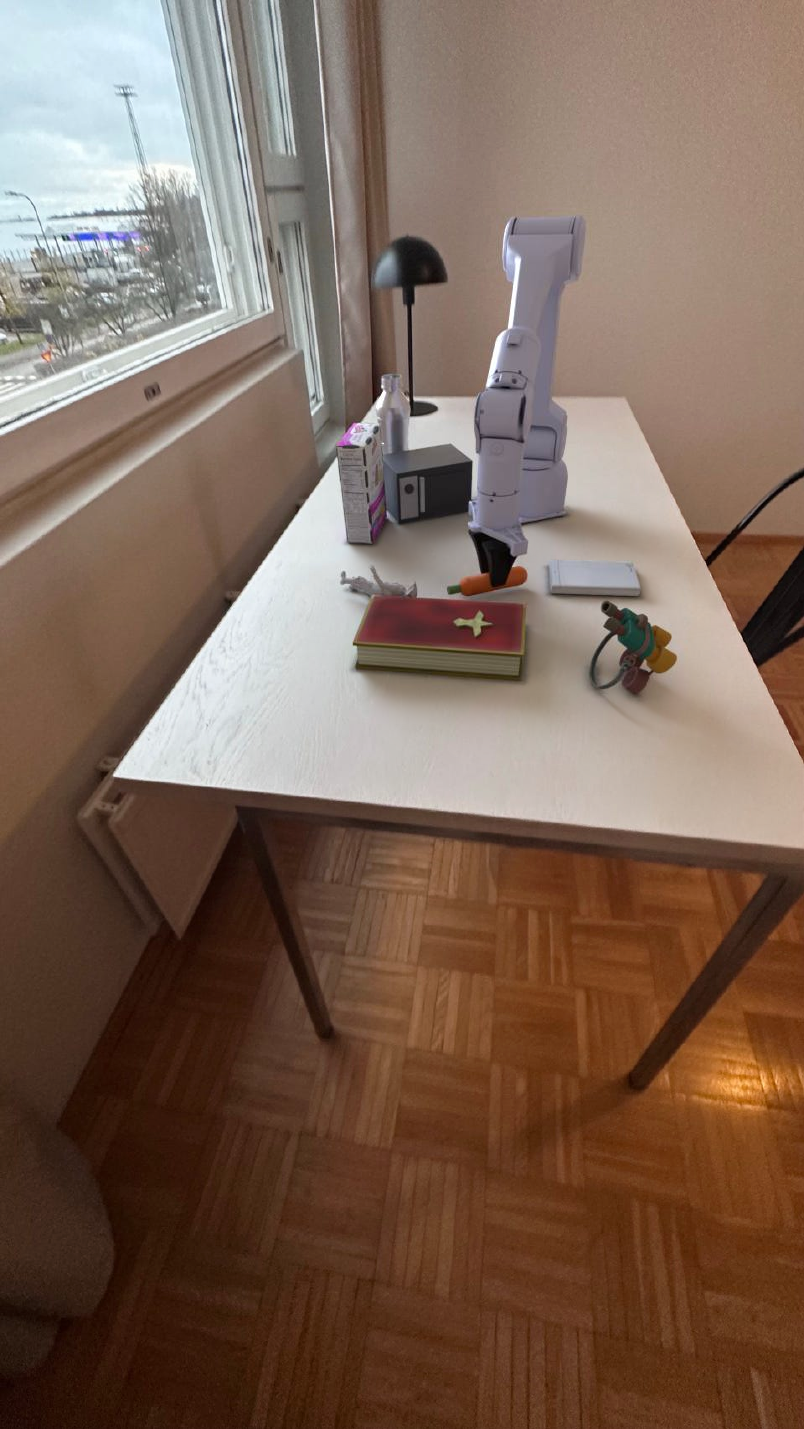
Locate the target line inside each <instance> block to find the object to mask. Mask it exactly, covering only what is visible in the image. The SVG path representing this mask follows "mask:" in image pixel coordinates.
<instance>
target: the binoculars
mask: <svg viewBox="0 0 804 1429" xmlns="http://www.w3.org/2000/svg"><path fill="white" fill-rule="evenodd" d="M600 611H601V613H602V614H604V615H605V616H606V617H608V618H607V619H606V621H605V622H604V623H603V625H602V628H604V629H606V630H607V631H608V633H607V634H606V636H604V638H603V639H602V640H601V641H600V643H599V645H598V646H597V648H596V649H595V651H594V654H593V655H592V657H591V661H590V665H589V679H590V682H591V684H592V685H593V686H594V687H596V688H597V689H599V690H607V689H609V688H612V687H614V686H616V685H617V684H618V683H619V682H620V681H621V686H622V688H624V689H626V690H627V691H628V692H630V693H631V694H632V695H638V694H640V693H641V692H642V691H643V690H644V689H645V688H646V686H647V685H648V683H649V681H650V676H652V675H653V674H654V673H655V674H658V675H659V674H664V673H666V672H668V671H669V670H670V669H672V668H673V667H674V666H675V664H676V663H677V660H678V656H677V654H676V653H675V652H673V651H671V650H670V649H668V648H666V647H667V646H668V645H669V644H670V643H671V641H672V638H673V636H672V634H671V633H670V632H668V631H667V630H666V629H664V628H662V627H660V626H658V625H657V624H653V625H652V624H651V623H650V622H649V617H648V616H647V615H646V614H645V613H639V614H638V613H636V612H634V611H633V610H631V609H629V607H624V608H621V609H619V607H618V606H617V605H616V604H614V603H613V602H611V601H610V600H604V601H603V602H601V606H600ZM614 636H616V637H617V638H616V639H617V642H618V643H620V644H621V645H622V646H623V647H625V649H624V651H623V652H622V654H621V656H620V657H619V661H618V663H619V666H620V668H619V671H618V673H617V674H616V676H614V678H613V679H612V680H611V681H609V682H606V683H603V684H600V685H599V684H598V683H597V682H596V678H595V671H596V665H597V662H598V658H599V656H600V655H601V653H602V651H603V650H604V648H605V647H606V645H607V643H609V641H610V640H611V639H612V638H613V637H614ZM644 662H645V665H646V667H647V668H649V670H646V669H644V668H641V667H642V665H643V664H644Z"/></svg>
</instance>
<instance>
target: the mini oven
mask: <svg viewBox="0 0 804 1429" xmlns="http://www.w3.org/2000/svg"><path fill="white" fill-rule="evenodd" d="M473 462H474V461H473V460H472V459H471V458H470V457H469V456H467V455H466V454H465V453H463V452H462V451H461V450H459V448H457V447H456V446H455V445H454V444H452V443H445V444H439V445H433V446H426V447H420V448H415V449H414V448H413V449H409V450H407V451H401V452H395V453H389V454H383V468H384V483H385V496H386V511H387V512H389V514H390V515H391V516H392V518H394V520H395V521H396V523H398V524H399V525H402V524H407V523H412V522H413V523H414V522H419V521H423V520H428V519H433V518H434V519H435V518H439V517H444V516H449V515H450V516H451V515H455V514H459V513H466V512H469V501H472V496H473V495H472V492H473V466H474V465H473Z"/></svg>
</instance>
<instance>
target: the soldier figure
mask: <svg viewBox="0 0 804 1429" xmlns="http://www.w3.org/2000/svg"><path fill="white" fill-rule="evenodd" d="M368 568H369V569H370V571H371V573H372V577H373V579H374V580H375V582H374V581H372V580H368V579H366V578H365V577H364V576H361V575H357V576H352V577H346V576H347V572H346V571H344V570H342V571H341V573H340V578H341V580H340V582H339V583H340V585H341V586H344V585H349V586H348V587H349V588H348V589H349V590H354V589H355V590H363V591H364V592H365V594H366V595H367V596H369V597H370V598H371V596H372V595H382V596H400V597H418V587H417V583H416V581H415V580H414V581H413V582H412V583H411V584H410V585H409V584H408V585H407V587H406V586H404V585H402V584H400V583H399V582H391V583H389V582H388V581H386V582H384V581H383V580H382V579H381V578H380V576H379V574H378V573H377V570H376V568H375V566H374V564H371V565H369V566H368Z"/></svg>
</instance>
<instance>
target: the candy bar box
mask: <svg viewBox="0 0 804 1429" xmlns="http://www.w3.org/2000/svg"><path fill="white" fill-rule="evenodd" d="M335 450H336V451H335V452H336V459H337V469H338V476H339V484H340V492H341V499H342V500H341V502H342V508H343V518H344V526H345V535H346V536H345V537H346V542H347V543H348V544H358V545H359V544H362V545H365V544H366V545H373V544H374V543H375V541H376V539H377V538H378V535H379V533H380V531H381V529H382V527H383V526H384V524H385V521H386V520H387V518H388V514H387V513H388V510H387V509H386V496H385V483H384V468H383V454H382V440H381V424H380V423H378V422H376V423H375V422H363V423H362V422H353V423H352V425H351V426H350V427H349V429H348V430H347V431H346V433H345V434H344V435H343V436H342V437H341V439H340V440H339V441H338V443H337V444H336V445H335Z"/></svg>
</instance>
